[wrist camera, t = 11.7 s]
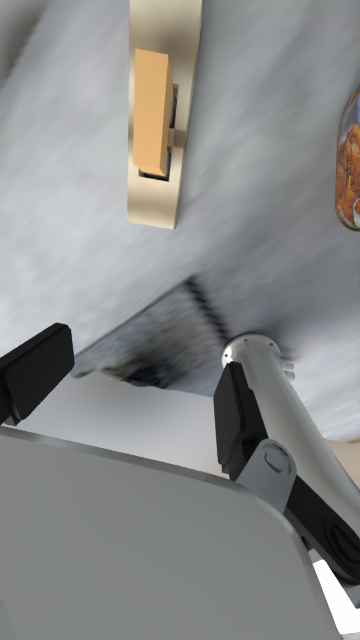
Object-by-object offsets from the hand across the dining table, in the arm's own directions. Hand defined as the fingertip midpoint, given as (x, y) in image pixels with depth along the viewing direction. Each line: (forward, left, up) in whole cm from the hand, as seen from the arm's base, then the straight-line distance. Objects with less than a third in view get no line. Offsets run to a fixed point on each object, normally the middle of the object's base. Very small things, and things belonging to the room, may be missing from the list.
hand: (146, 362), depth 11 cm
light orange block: (+5, -16, -25) cm, 30 cm away
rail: (+5, -16, -25) cm, 30 cm away
